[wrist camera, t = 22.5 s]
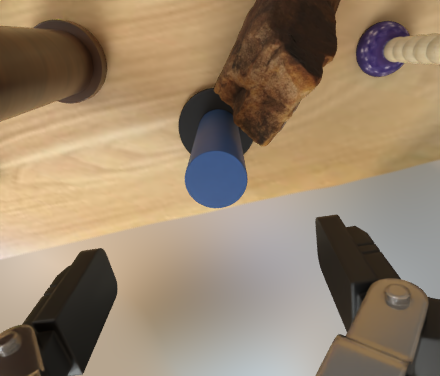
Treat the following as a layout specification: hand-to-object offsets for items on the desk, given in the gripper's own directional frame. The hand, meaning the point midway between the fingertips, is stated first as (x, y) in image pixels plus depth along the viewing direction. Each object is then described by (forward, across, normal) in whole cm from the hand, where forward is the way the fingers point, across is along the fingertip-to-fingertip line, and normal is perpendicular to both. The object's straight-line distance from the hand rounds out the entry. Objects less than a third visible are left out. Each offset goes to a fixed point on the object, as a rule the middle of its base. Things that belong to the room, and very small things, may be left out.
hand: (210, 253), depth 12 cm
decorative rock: (+20, -5, -6) cm, 21 cm away
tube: (+13, 0, 0) cm, 13 cm away
